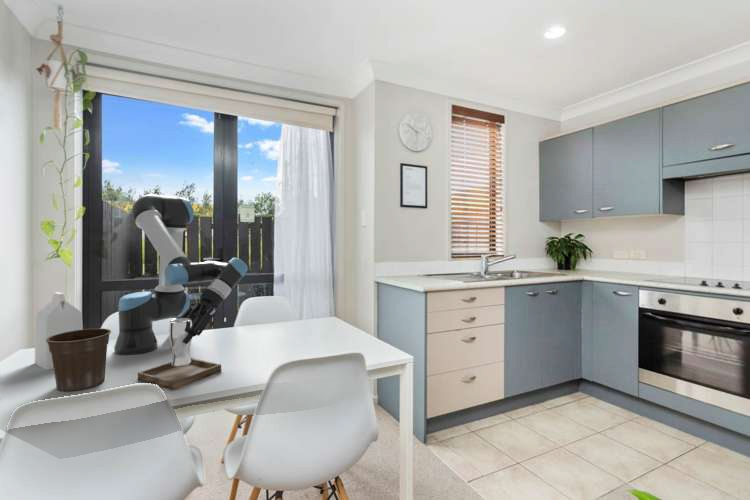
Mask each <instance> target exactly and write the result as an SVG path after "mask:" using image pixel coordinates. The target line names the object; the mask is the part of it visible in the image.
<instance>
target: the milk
mask: <svg viewBox="0 0 750 500" xmlns="http://www.w3.org/2000/svg"><path fill="white" fill-rule="evenodd" d="M82 314H83V313H82V312H81V311H80V309H78V308H77V307H75V306H74V305H72V304H70V303H69V302H67V301H66V298H65V293H64V292H58V291H57V292H56V291H55V292H53V294H52V299H51V300H50V301H48V302H47V303H46V304H45V305H44V306H43V307H42V308H40V309H39V310H38V311H37V313H36V314H35V335H34V336H35V338H34V339H35V340H34V343H35V344H34V345H35V346H34V364H35V365H37V366H39V367H41V368H43V369H45V370H46V371H48V370H52V369H54V367H53V361H52V355H51V353H50V351H49V345H48V342H46V339H47V338H48V337H50V336H53V335H56V334H60V333H64V332H69V331H75V330H83V329H84V325H83V315H82Z"/></svg>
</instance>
